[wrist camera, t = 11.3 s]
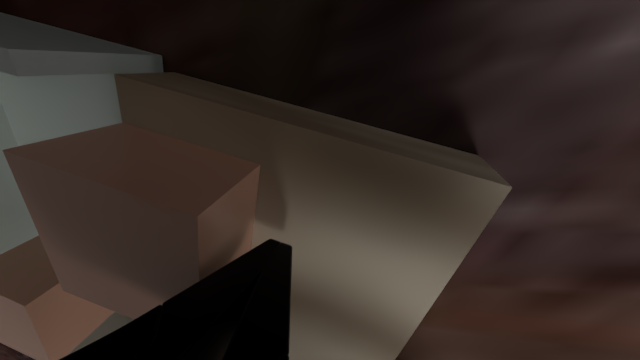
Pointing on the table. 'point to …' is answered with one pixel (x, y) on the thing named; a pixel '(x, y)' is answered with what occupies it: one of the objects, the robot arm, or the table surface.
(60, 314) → the tile
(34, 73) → the tray
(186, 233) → the tile
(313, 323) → the beige flat panel
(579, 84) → the table surface
